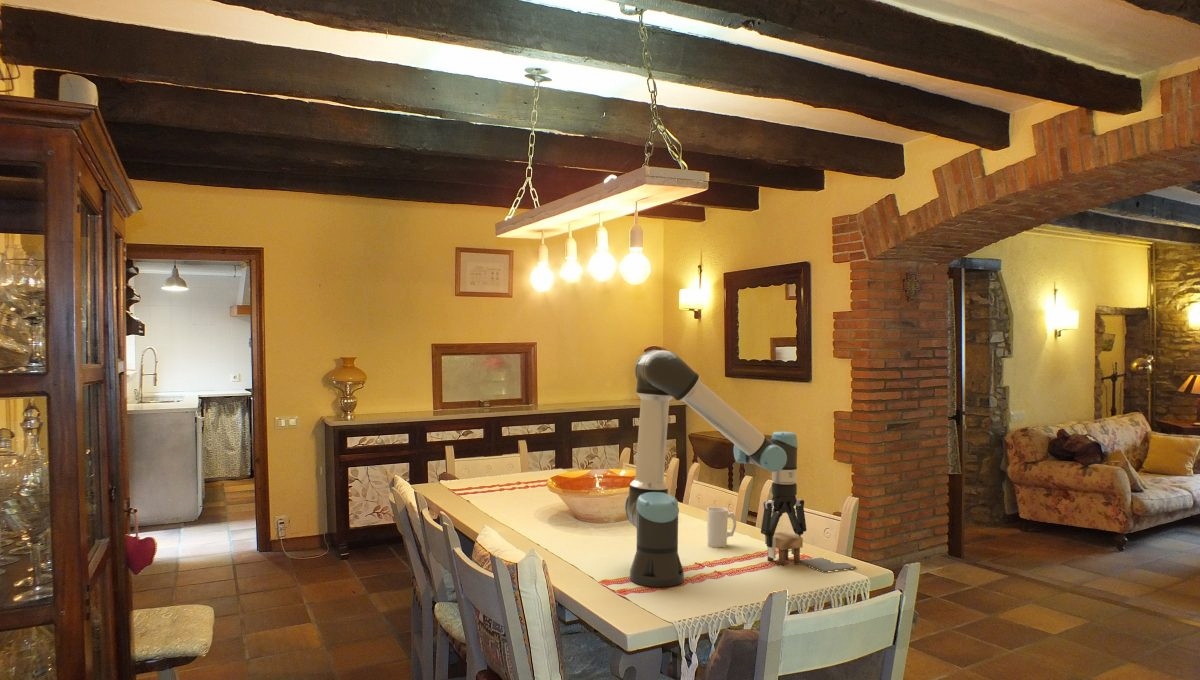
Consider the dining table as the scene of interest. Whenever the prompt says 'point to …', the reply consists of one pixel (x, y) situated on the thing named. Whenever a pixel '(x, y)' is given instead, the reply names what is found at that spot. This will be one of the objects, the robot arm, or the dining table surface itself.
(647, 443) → the robot arm
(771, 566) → the dining table surface
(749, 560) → the dining table surface
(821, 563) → the mat
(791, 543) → the stool
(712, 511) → the mug
